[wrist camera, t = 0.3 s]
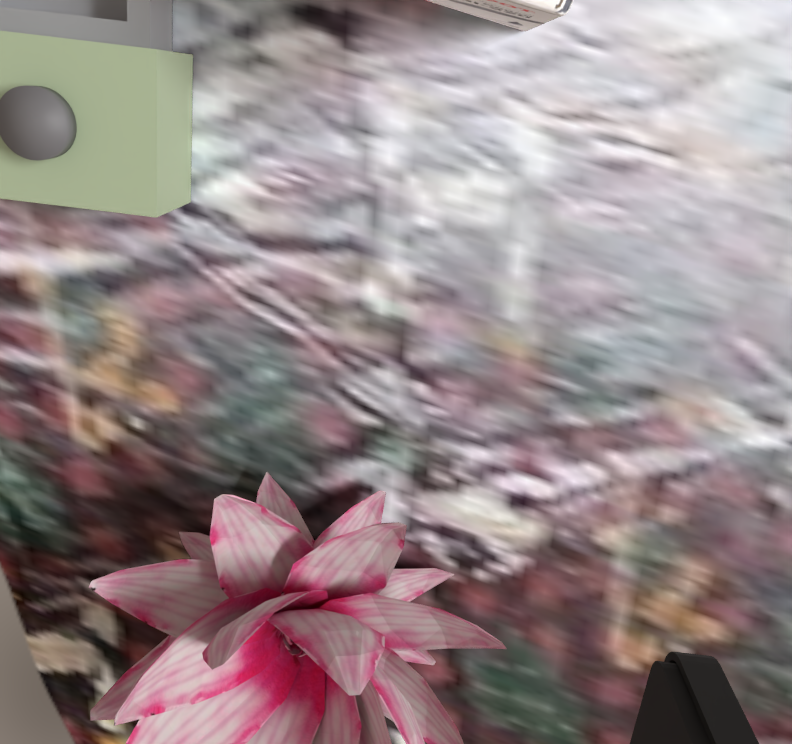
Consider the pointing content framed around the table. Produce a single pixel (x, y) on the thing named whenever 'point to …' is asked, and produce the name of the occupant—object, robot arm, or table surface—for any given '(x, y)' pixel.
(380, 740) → the decorative flower
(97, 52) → the green and grey box
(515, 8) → the ink box
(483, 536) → the table surface
